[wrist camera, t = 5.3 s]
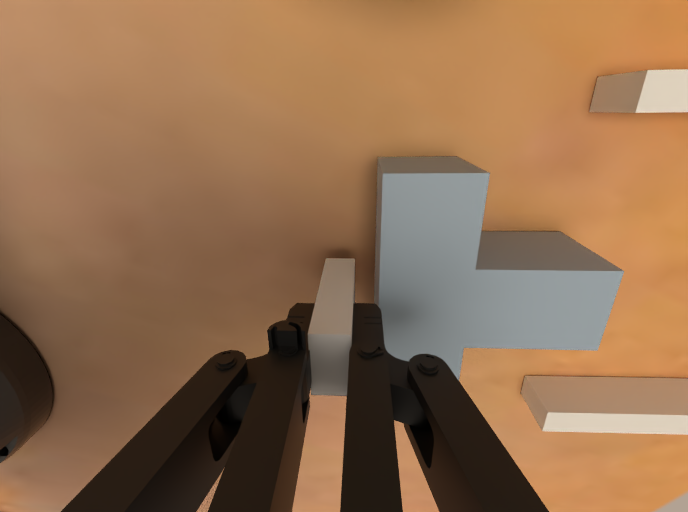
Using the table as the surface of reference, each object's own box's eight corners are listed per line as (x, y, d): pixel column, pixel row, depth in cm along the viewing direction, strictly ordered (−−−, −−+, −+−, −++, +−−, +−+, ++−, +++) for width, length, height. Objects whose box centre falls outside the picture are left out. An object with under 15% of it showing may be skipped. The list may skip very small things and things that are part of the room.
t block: (372, 347, 22) (375, 409, 18) (377, 156, 18) (382, 173, 13) (531, 351, 22) (575, 415, 17) (578, 155, 17) (657, 172, 13)
